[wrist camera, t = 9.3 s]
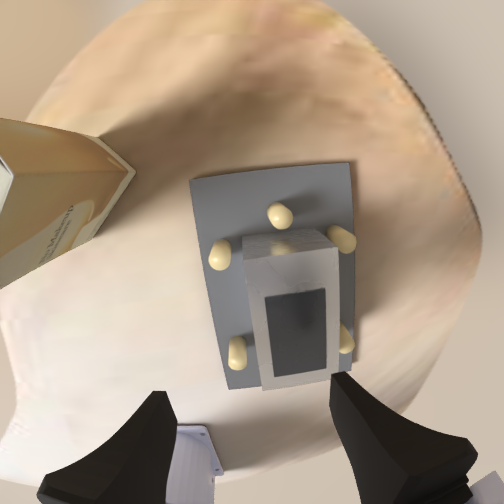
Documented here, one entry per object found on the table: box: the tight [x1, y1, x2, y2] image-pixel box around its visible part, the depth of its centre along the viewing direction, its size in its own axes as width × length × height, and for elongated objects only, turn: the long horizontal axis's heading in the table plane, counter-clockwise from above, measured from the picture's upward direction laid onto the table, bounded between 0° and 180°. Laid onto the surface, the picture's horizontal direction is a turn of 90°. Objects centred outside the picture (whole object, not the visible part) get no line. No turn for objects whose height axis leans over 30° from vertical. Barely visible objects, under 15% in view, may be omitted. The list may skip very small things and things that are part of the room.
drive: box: [242, 227, 340, 391], centre depth 17 cm, size 8×4×5 cm, turn 7°
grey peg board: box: [189, 163, 357, 390], centre depth 19 cm, size 16×10×3 cm, turn 7°
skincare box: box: [0, 118, 136, 289], centre depth 12 cm, size 6×4×12 cm
